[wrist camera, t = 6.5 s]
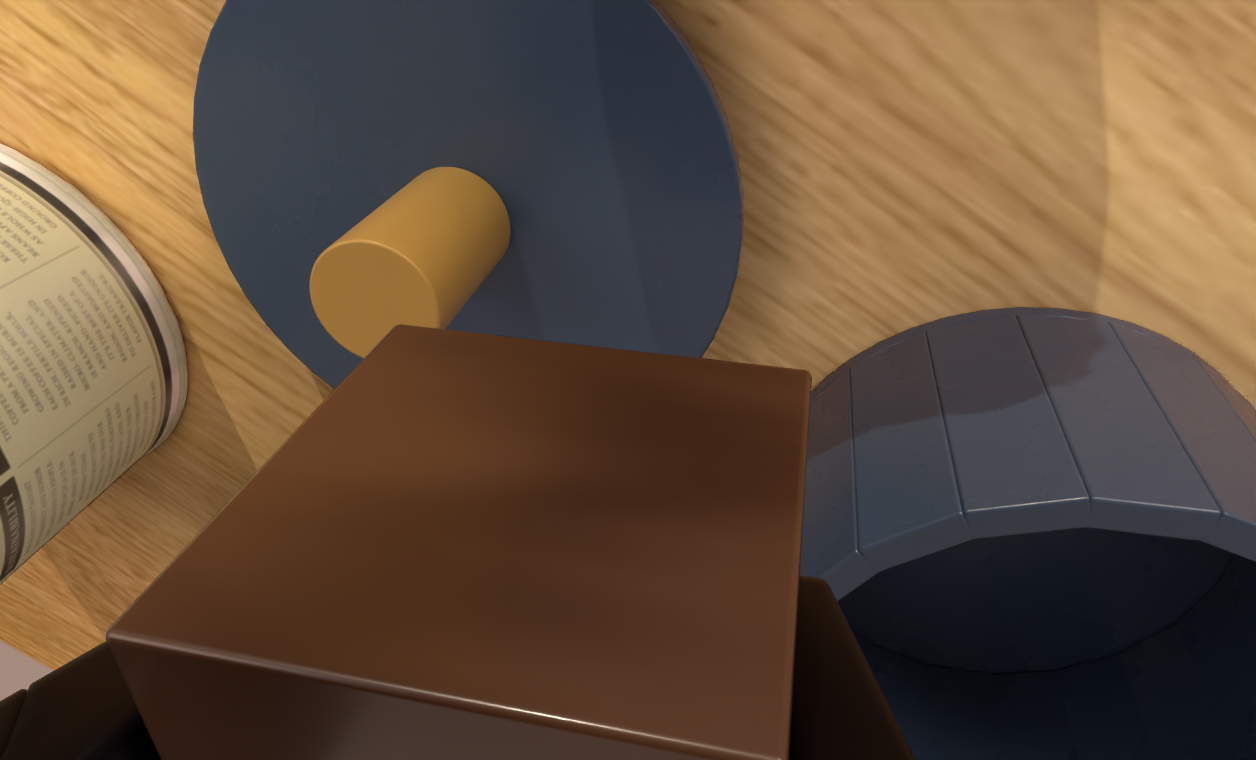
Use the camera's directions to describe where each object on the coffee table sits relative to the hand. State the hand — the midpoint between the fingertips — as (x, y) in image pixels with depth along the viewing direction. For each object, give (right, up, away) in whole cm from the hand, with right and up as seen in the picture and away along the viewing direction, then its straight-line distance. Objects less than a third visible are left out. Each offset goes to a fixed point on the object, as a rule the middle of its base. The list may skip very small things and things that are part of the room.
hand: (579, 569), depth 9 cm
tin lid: (-3, +6, +9) cm, 11 cm away
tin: (+9, -1, +11) cm, 15 cm away
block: (0, +1, +1) cm, 1 cm away
